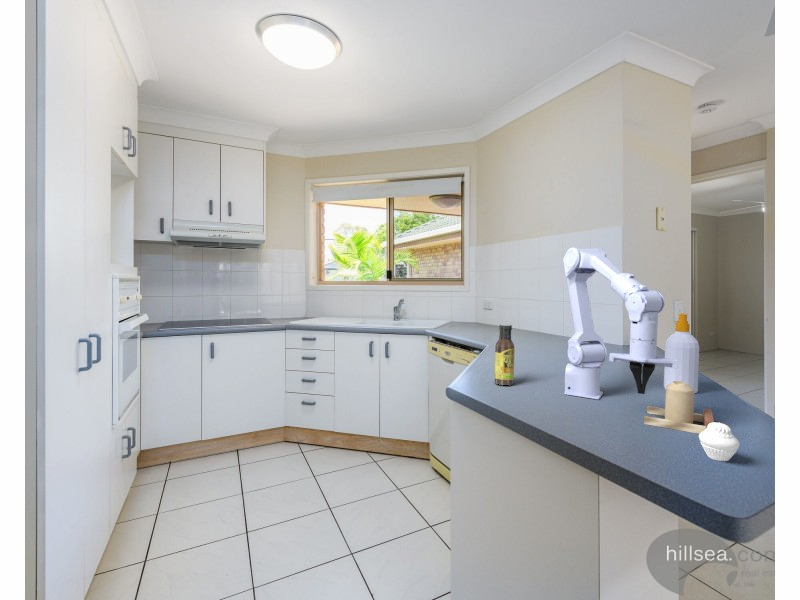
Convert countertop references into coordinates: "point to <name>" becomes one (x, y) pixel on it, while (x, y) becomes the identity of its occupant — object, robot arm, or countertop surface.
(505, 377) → the sauce bottle
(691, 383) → the soap bottle
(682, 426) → the channel
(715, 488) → the countertop surface
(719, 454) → the muffin
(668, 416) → the candle
